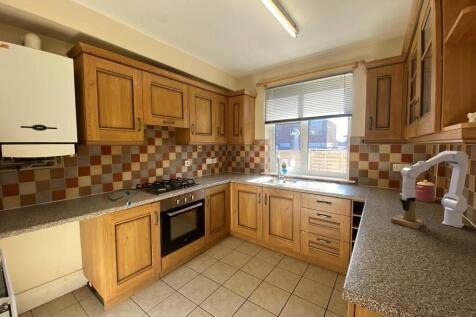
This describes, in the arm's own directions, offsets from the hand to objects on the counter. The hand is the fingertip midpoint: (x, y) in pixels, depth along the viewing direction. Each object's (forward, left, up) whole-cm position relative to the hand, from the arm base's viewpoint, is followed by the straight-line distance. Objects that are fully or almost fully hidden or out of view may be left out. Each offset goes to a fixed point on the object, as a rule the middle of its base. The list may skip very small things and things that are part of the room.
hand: (407, 209), depth 120 cm
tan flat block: (0, 0, -8) cm, 8 cm away
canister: (-74, -9, -9) cm, 75 cm away
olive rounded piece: (0, +1, -6) cm, 6 cm away
